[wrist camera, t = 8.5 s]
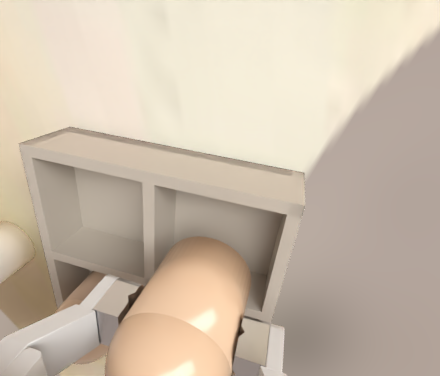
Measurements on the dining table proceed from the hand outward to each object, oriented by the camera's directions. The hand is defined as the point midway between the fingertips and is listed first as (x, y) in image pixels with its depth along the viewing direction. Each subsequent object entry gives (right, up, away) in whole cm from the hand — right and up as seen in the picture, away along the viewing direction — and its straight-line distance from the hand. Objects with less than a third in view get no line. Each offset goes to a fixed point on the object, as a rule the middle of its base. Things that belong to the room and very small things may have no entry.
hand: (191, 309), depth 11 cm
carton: (-2, +1, +8) cm, 8 cm away
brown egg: (+1, +1, +2) cm, 2 cm away
